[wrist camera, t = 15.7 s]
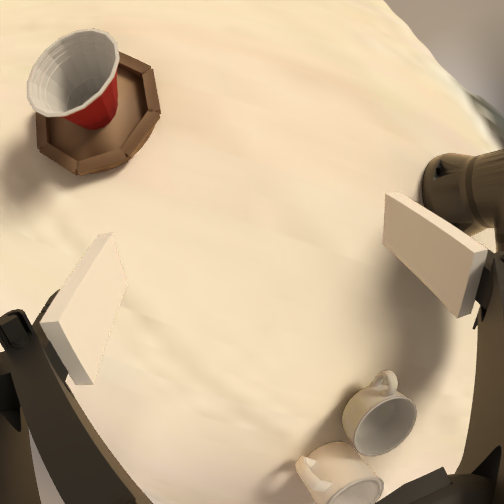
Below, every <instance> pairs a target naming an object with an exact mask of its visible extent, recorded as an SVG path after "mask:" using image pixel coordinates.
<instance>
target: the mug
mask: <svg viewBox="0 0 504 504" xmlns="http://www.w3.org/2000/svg"><path fill="white" fill-rule="evenodd" d="M295 466H296V471H297V473H298V475H299V476H300V478H301V480H302V481H303V482H304V483H305V485H306V487H307V489H308V490H309V492H310V494H311V495H312V497H313V499H314V501H315V502H316V504H374V503H376V501H377V500H378V499H379V497H380V496H381V494H382V491H383V489H384V483H383V481H382V480H381V478H380V477H379V476H378V475H377V474H376V473H375V472H374V471H373V470H372V469H371V468H370V466H369V465H368V464H367V463H366V462H365V461H364V460H363V459H362V458H361V457H360V456H359V454H358V453H357V452H356V451H355V450H354V449H353V448H352V447H351V446H350V445H349V444H347V443H345V442H332V443H328V444H325V445H323V446H320V447H319V448H317V449H316V450H314V451H313V452H311V453H310V454H309V455H308V456H307V457H306V456H301V457H300V458H299V460H298V461H297V462H296V463H295Z"/></svg>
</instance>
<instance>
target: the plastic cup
mask: <svg viewBox="0 0 504 504" xmlns="http://www.w3.org/2000/svg"><path fill="white" fill-rule="evenodd" d="M119 59H120V58H119V51H118V44H117V42H116V41H115V40H114V39H113V37H112V36H111V35H110V34H109V33H108V32H104V31H101V30H98V29H94V28H93V29H84V30H77V31H75V32H72V33H70V34H68V35H65V36H63V37H61V38H59V39H58V40H57V41H56V42H54V43H53V44H52V45H51V46H49V47H48V48H47V49H46V50H45V51H44V52H43V53H42V54H41V56H40V57H39V58H38V60H37V61H36V63H35V64H34V65H33V67H32V70H31V73H30V75H29V78H28V81H27V99H28V101H29V103H30V105H31V106H32V108H33V110H34V111H36V112H38V113H40V114H42V115H44V116H46V117H61V118H65V119H67V120H69V121H71V122H73V123H75V124H76V125H78V126H81V127H83V128H85V129H89V130H97V129H100V128H103V127H105V126H106V125H107V124H109V123H110V122H111V121H112V119H113V118H114V116H115V115H116V111H117V107H118V99H117V98H118V89H117V66H118V63H119Z"/></svg>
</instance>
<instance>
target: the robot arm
mask: <svg viewBox="0 0 504 504" xmlns="http://www.w3.org/2000/svg"><path fill="white" fill-rule="evenodd" d="M422 190H423V200H424V205H425V208H424V207H423V206H421V205H419V204H418V203H416V202H414V201H413V200H411V199H409V198H408V197H406V196H404V195H402V194H401V193H399V192H393V193H385V214H384V232H383V245H385V246H386V247H387V248H388V249H389V250H390V251H391V252H392V253H393V254H394V255H395V256H396V257H397V258H398V259H399V260H400V261H401V262H402V263H404V264H405V265H406V266H407V267H408V268H409V269H410V270H411V271H412V272H413V273H414V274H415V275H416V276H417V277H418V278H419V279H420V280H421V281H422V282H423V283H424V284H425V285H426V286H427V287H428V288H429V289H430V290H431V291H432V292H433V293H434V294H435V295H436V296H437V297H438V299H439V300H440V301H441V302H442V303H443V304H444V305H445V306H446V307H447V308H448V309H449V310H450V311H451V312H452V313H453V314H454V315H455V317H456V318H460V317H462V316H465V315H468V314H470V313H471V311H472V308H473V305H474V302H475V300H476V301H477V302H478V303H479V304H480V308H479V311H478V314H477V317H476V320H475V323H474V326H473V329H475V328H476V326H477V325H478V341H477V361H476V375H475V385H474V394H473V402H472V410H471V416H470V423H469V429H468V434H467V439H466V444H465V449H464V454H463V457H462V460H461V463H460V465H459V467H458V468H457V470H456V472H455V474H451V475H447V473H446V471H445V469H444V467H441V468H439V469H437V470H435V471H433V472H431V473H429V474H427V475H424V476H422V477H420V478H418V479H415V480H413V481H411V482H408V483H406V484H404V485H402V486H401V487H399V488H398V489H396V490H395V491H394V492H392V493H391V494H389V495H388V496H386V497H385V498H383V499H381V500H380V501H378V502H377V503H375V504H504V149H502V150H498V151H494V152H491V153H486V154H483V155H479V156H475V157H474V156H468V155H462V154H455V153H447V154H443V155H440V156H437V157H435V158H434V159H432V160H431V162H430V163H429V164H428V166H427V168H426V170H425V173H424V177H423V187H422ZM486 228H494V229H495V239H496V253H495V254H494V253H493V252H492V251H490V250H489V249H487V248H486V247H484V246H483V245H482V244H480V243H479V242H477V241H476V240H474V239H473V238H471V236H473V235H475V234H477V233H479V232H481V231H483V230H484V229H486ZM127 285H128V281H127V278H126V275H125V272H124V269H123V266H122V263H121V259H120V256H119V253H118V250H117V246H116V243H115V239H114V236H113V233H108V234H102V235H98V236H97V238H96V239H95V240H94V242H93V243H92V244H91V246H90V247H89V248H88V250H87V251H86V253H85V254H84V255H83V257H82V258H81V260H80V261H79V262H78V264H77V265H76V267H75V268H74V270H73V271H72V273H71V274H70V275H69V277H68V278H67V280H66V281H65V283H64V284H63V286H62V287H61V289H59V290H57V291H56V292H55V293H54V294H53V295H52V296H51V297H50V298H49V299H48V301H47V302H46V304H45V306H44V307H43V309H42V310H41V313H39V315H38V317H37V318H36V320H35V321H34V323H33V325H31V323H30V322H29V320H28V318H27V316H26V314H25V312H24V311H23V310H20V309H16V310H12V311H10V312H7V313H6V314H4V315H3V316H1V317H0V343H1V345H2V347H3V348H4V350H5V351H4V352H0V504H41V501H40V496H39V492H38V487H37V483H36V477H35V472H34V466H33V460H32V454H31V447H30V439H29V431H28V427H29V429H30V432H31V434H32V437H33V439H34V442H35V444H36V447H37V449H38V451H39V453H40V455H41V458H42V460H43V462H44V464H45V466H46V469H47V471H48V472H49V475H50V477H51V479H52V480H53V483H54V485H55V486H56V488H57V490H58V492H59V494H60V496H61V498H62V499H63V501H64V502H65V504H153V503H152V502H151V501H150V500H149V498H148V497H147V496H146V495H145V494H144V493H143V492H142V490H141V489H140V488H139V487H138V486H137V485H136V483H135V482H134V481H133V480H132V479H131V477H130V476H129V475H128V474H127V472H126V471H125V470H124V469H123V467H122V466H121V465H120V463H119V462H118V461H117V459H116V458H115V457H114V456H113V454H112V453H111V451H110V450H109V449H108V447H107V446H106V445H105V443H104V442H103V440H102V439H101V437H100V436H99V435H98V433H97V432H96V430H95V429H94V427H93V426H92V424H91V423H90V421H89V420H88V418H87V416H86V415H85V413H84V412H83V410H82V408H81V407H80V405H79V404H78V402H77V400H76V399H75V397H74V395H73V393H72V392H71V390H70V388H69V387H68V385H67V384H66V382H65V380H66V377H67V375H68V374H69V375H70V377H71V378H72V380H73V381H74V383H75V385H94V382H95V379H96V375H97V372H98V369H99V366H100V362H101V359H102V356H103V353H104V350H105V347H106V344H107V341H108V338H109V335H110V332H111V329H112V326H113V323H114V320H115V318H116V315H117V312H118V309H119V307H120V304H121V301H122V298H123V296H124V293H125V290H126V288H127Z"/></svg>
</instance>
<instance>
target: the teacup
mask: <svg viewBox="0 0 504 504" xmlns="http://www.w3.org/2000/svg"><path fill="white" fill-rule="evenodd" d="M384 378H386V379H387V381H388V386H387V385H382V382H383V380H384ZM397 387H398V380H397V377H396V375H395V374H394V373H393V372H392V371H389V370H386V371H382V372H380V373H379V374H378V375H377V376H376V378H375V380H374V381H373V382H371V384H370V386H368V387H366V388H364V389H362V390H360V391H359V392H357V393H356V394H355V395H354V396H353V397H352V398H351V399H350V400H349V402H348V403H347V405H346V407H345V409H344V412H343V416H342V425H343V428H344V431H345V433H346V434H347V436H348V437H349V439H350V440H351V442H352V443H353V444H354V446H355V448H356V450H357V451H358V452H359V453H361V454H362V455H366V456H378V455H381V454H384V453H387V452H389V451H391V450H392V449H394V448H395V447H397V446H398V445H399V444H400V443H401V442H402V441H403V440H404V439H405V438H406V437H407V436H408V435H409V433H410V432H411V430H412V428H413V426H414V423H415V421H416V414H417V411H416V406H415V404H414V402H413V401H412V400H411V399H409V398H408V397H405V396H404V395H403V394H401V393H400V392H398V391H397Z"/></svg>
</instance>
